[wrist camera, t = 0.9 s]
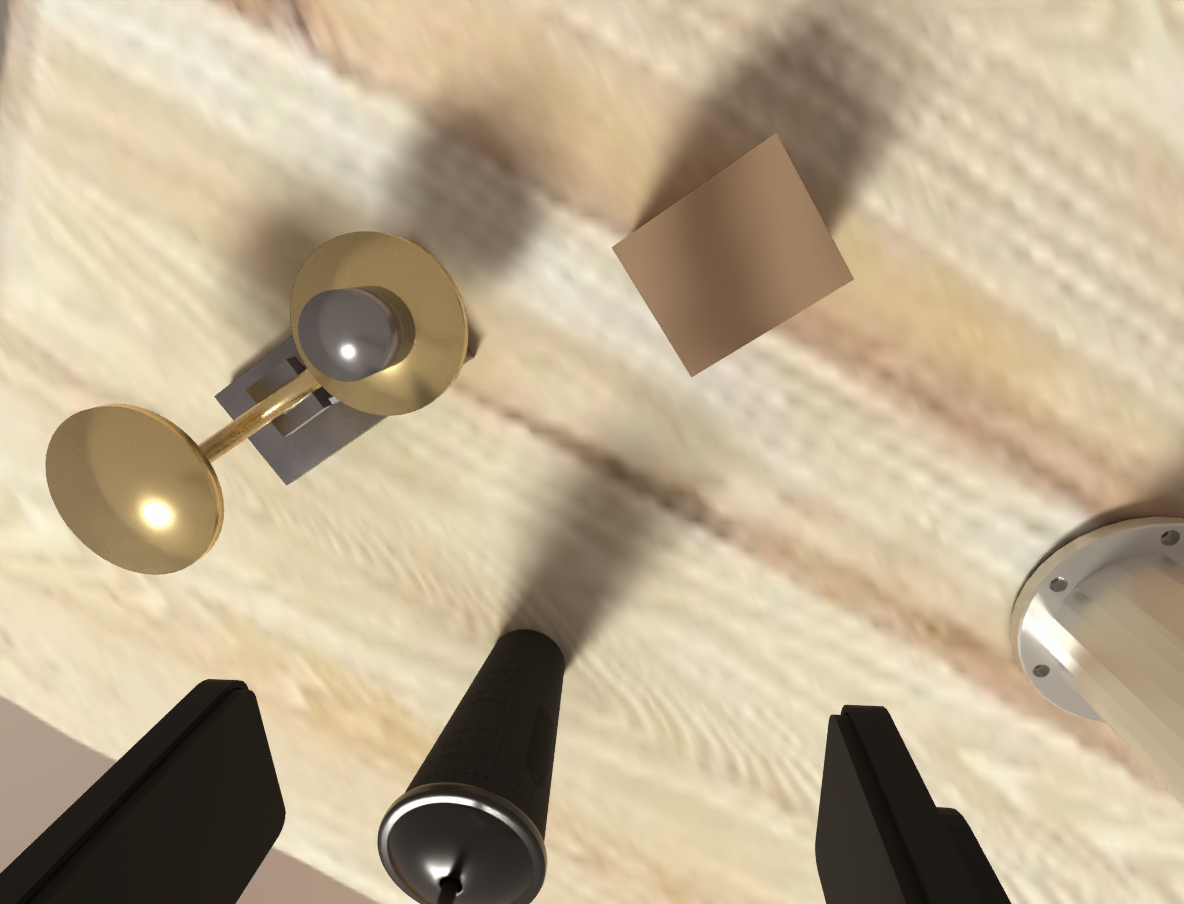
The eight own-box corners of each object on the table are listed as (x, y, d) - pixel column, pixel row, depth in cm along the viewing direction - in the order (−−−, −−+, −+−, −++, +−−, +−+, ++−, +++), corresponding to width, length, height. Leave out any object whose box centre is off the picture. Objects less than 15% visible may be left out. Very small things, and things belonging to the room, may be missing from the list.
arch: (748, 162, 29) (776, 132, 21) (808, 272, 30) (854, 279, 23) (625, 248, 31) (611, 247, 23) (686, 348, 32) (691, 377, 25)
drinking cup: (483, 595, 38) (303, 930, 19) (598, 629, 38) (531, 1002, 19) (461, 689, 41) (283, 1066, 22) (569, 722, 41) (484, 1130, 22)
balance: (443, 203, 31) (344, 181, 21) (532, 335, 33) (476, 370, 23) (182, 410, 37) (11, 466, 27) (268, 514, 38) (136, 601, 29)
